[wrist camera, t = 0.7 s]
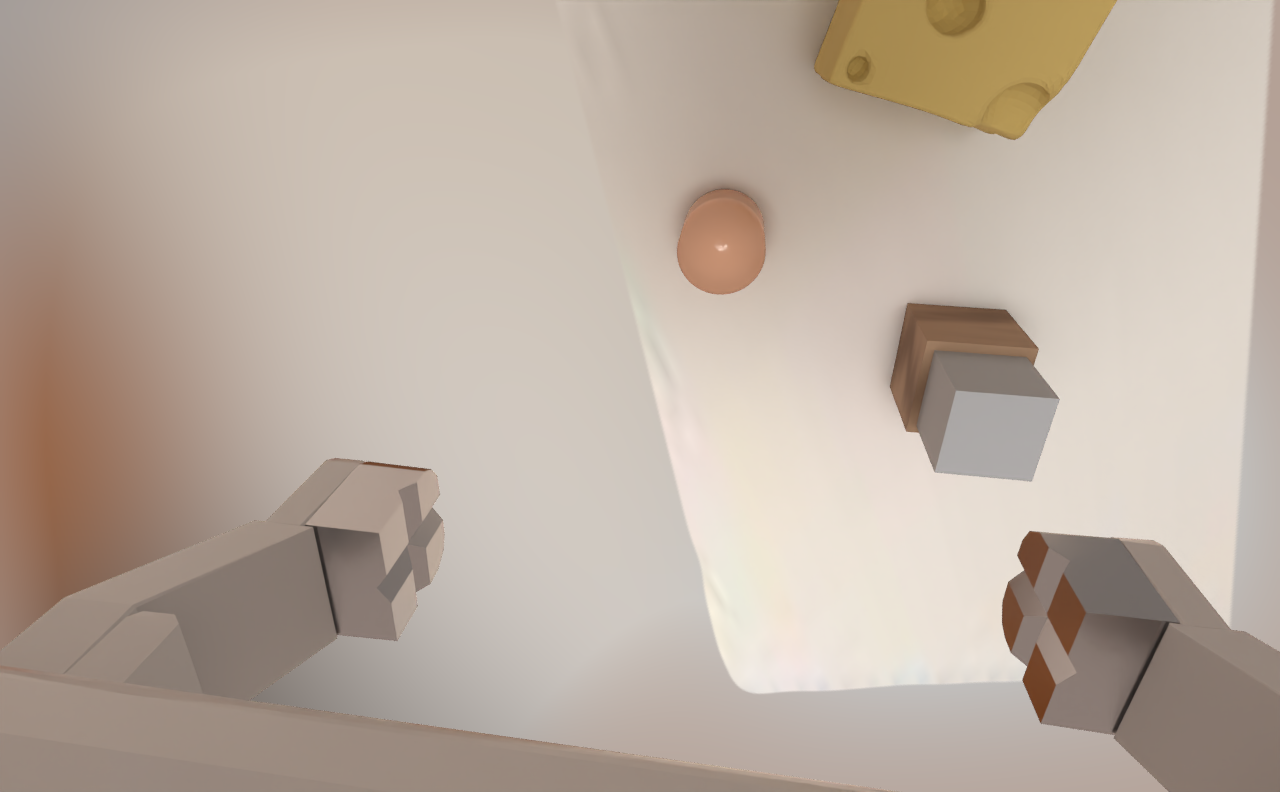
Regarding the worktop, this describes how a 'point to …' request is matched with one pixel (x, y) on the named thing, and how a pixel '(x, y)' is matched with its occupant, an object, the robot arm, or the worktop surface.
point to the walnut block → (948, 347)
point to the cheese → (961, 55)
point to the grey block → (985, 415)
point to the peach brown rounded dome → (722, 242)
